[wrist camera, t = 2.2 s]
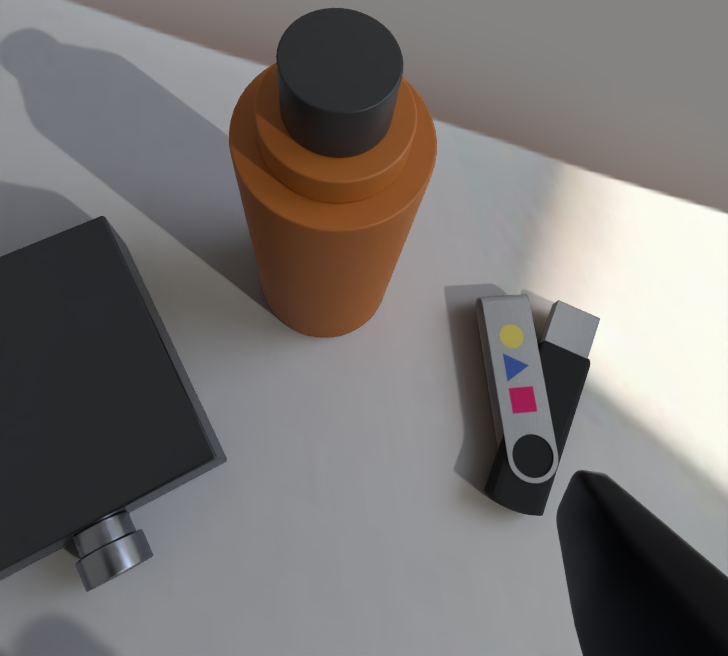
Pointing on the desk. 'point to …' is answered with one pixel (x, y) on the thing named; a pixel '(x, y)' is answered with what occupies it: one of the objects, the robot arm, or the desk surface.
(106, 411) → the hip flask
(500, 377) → the usb flash drive
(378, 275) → the amber bottle
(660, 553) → the robot arm
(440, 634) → the desk surface
